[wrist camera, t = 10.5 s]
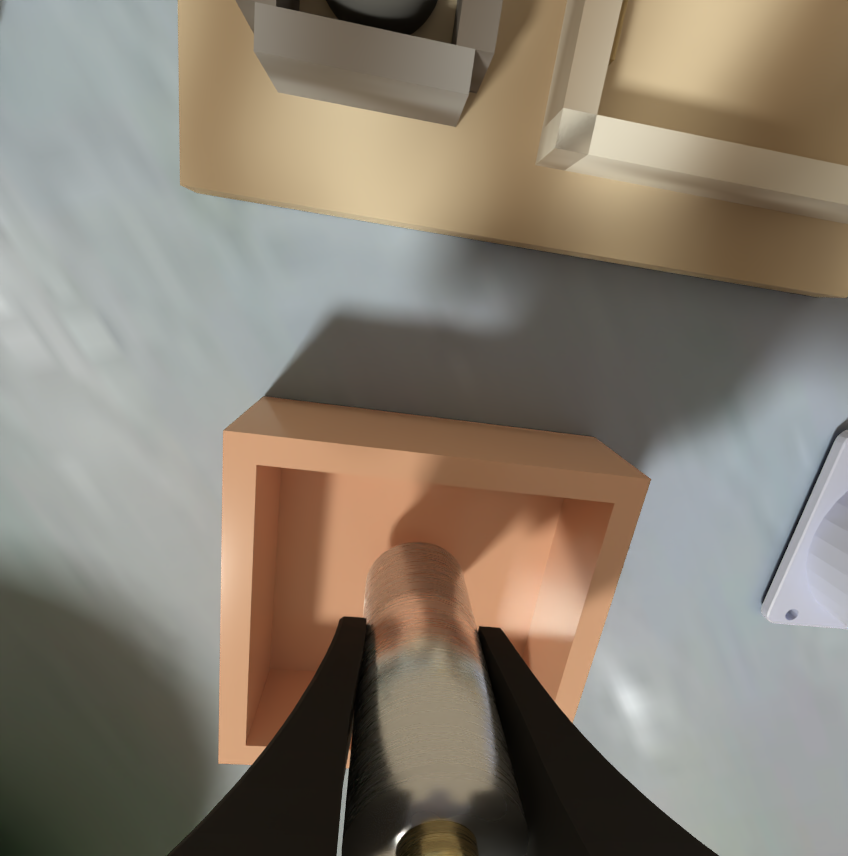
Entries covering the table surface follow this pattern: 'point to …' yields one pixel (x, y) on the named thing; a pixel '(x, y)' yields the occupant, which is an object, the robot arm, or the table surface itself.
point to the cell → (427, 721)
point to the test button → (385, 13)
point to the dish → (401, 523)
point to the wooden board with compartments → (541, 126)
